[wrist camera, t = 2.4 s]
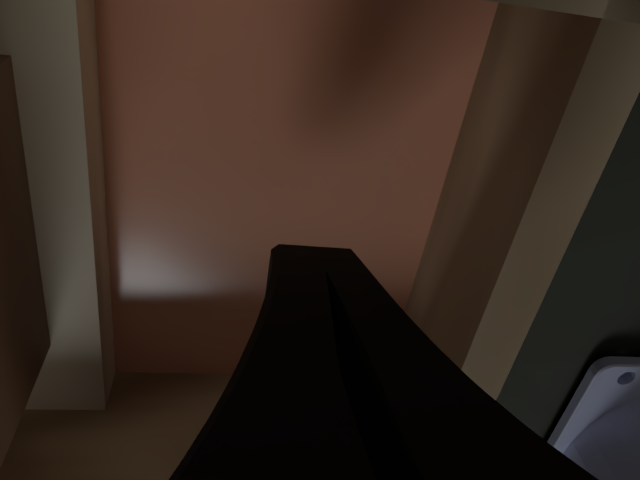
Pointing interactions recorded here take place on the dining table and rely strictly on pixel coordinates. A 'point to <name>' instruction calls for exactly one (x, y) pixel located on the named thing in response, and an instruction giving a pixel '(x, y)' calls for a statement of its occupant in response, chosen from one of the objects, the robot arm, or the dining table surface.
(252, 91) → the frame
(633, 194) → the dining table surface
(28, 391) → the walnut block
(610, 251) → the dining table surface
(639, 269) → the dining table surface
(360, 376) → the robot arm
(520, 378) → the dining table surface
